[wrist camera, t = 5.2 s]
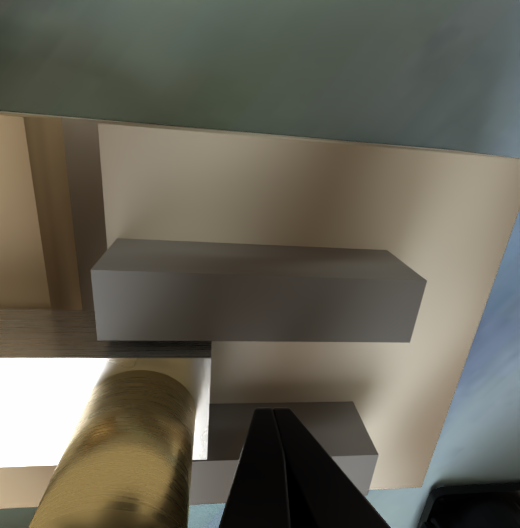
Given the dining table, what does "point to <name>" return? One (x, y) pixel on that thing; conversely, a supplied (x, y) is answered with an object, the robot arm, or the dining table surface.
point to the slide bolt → (102, 419)
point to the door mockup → (264, 274)
